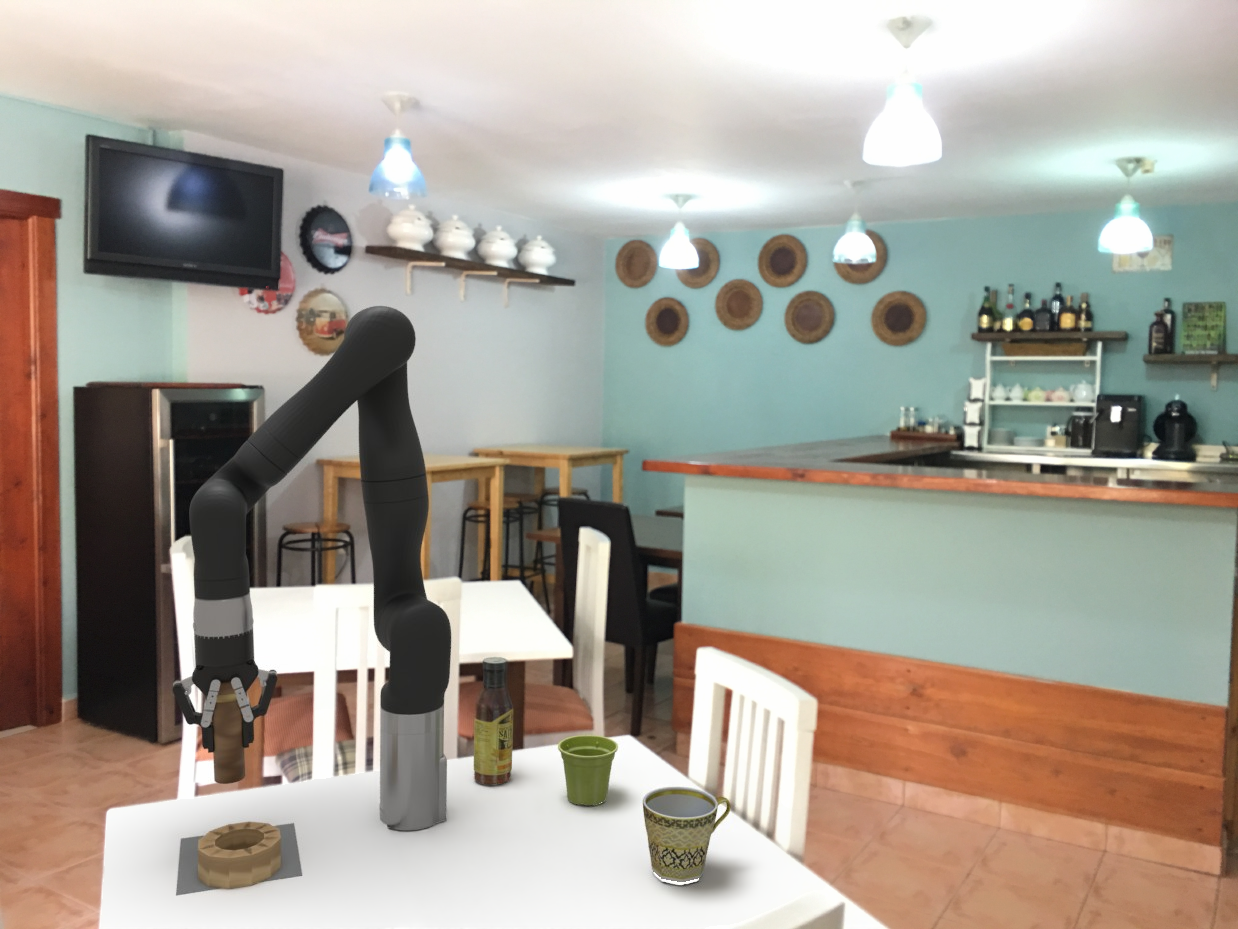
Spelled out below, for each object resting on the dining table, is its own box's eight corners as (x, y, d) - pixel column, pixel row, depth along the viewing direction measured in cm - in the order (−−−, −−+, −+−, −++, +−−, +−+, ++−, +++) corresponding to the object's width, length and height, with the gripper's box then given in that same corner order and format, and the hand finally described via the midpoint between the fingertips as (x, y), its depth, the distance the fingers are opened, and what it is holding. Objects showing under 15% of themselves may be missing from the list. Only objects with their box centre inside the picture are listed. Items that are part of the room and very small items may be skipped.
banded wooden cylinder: (245, 769, 140) (242, 673, 139) (246, 781, 136) (242, 682, 135) (213, 774, 138) (209, 676, 137) (213, 786, 135) (209, 686, 133)
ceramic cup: (664, 899, 126) (666, 823, 125) (627, 864, 135) (629, 793, 134) (748, 878, 132) (751, 805, 131) (708, 846, 141) (710, 778, 140)
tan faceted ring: (278, 845, 136) (278, 817, 136) (282, 880, 127) (282, 850, 127) (199, 857, 133) (199, 828, 132) (197, 893, 123) (197, 863, 123)
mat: (294, 826, 143) (293, 823, 143) (302, 879, 129) (302, 875, 129) (180, 842, 138) (180, 838, 138) (176, 899, 123) (175, 895, 123)
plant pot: (545, 795, 156) (546, 741, 156) (594, 782, 162) (595, 730, 161) (578, 817, 149) (580, 761, 148) (628, 802, 154) (630, 748, 154)
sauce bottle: (504, 789, 158) (506, 667, 156) (467, 785, 159) (469, 664, 158) (517, 773, 165) (519, 656, 163) (481, 769, 166) (483, 653, 164)
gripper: (277, 615, 141) (281, 732, 143) (168, 625, 136) (173, 745, 138) (280, 629, 134) (284, 751, 136) (164, 639, 129) (170, 766, 131)
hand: (228, 747), depth 137 cm, fingers closed on banded wooden cylinder, 4 cm apart
